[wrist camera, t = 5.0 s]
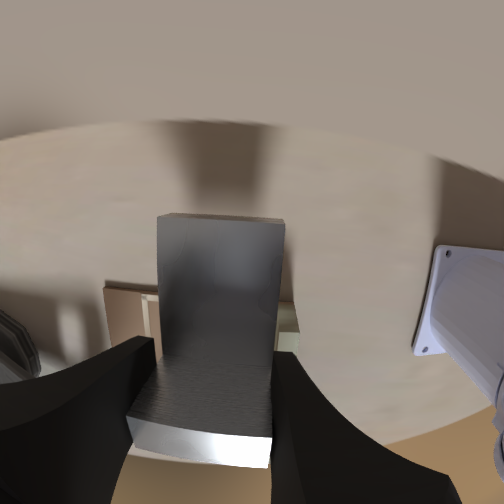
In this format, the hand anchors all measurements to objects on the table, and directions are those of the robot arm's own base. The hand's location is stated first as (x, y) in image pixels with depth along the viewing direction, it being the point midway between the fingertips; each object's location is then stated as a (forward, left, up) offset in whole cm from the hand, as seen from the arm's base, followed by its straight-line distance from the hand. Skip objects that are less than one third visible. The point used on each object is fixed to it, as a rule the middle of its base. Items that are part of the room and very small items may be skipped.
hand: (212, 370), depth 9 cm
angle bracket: (0, -2, -2) cm, 3 cm away
